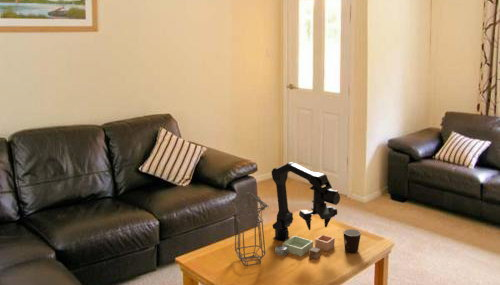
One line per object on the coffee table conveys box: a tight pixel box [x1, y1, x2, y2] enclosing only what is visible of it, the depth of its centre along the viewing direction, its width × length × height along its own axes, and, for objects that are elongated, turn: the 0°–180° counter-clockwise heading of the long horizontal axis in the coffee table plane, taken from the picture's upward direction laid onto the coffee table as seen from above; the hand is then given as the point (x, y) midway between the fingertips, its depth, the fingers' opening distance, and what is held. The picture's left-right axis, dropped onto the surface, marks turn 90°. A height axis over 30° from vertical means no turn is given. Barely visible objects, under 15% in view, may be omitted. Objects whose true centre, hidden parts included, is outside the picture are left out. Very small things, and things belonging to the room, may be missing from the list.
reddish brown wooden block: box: [274, 244, 289, 257], centre depth 253 cm, size 5×4×4 cm
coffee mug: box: [343, 228, 362, 255], centre depth 256 cm, size 12×9×10 cm
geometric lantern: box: [229, 191, 269, 267], centre depth 242 cm, size 16×16×35 cm
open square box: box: [314, 234, 336, 253], centre depth 259 cm, size 7×7×5 cm
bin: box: [282, 235, 314, 257], centre depth 257 cm, size 11×11×4 cm
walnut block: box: [308, 246, 321, 260], centre depth 249 cm, size 4×4×4 cm
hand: (317, 228), depth 253 cm, fingers open, 9 cm apart
